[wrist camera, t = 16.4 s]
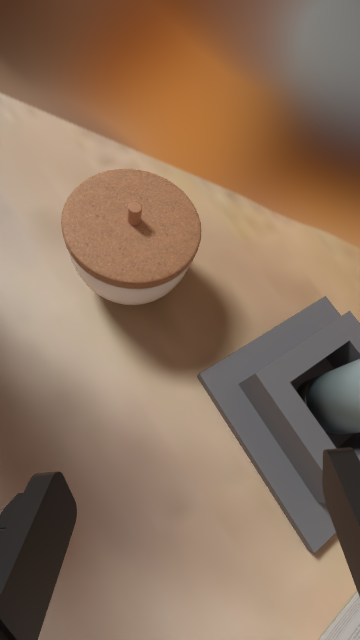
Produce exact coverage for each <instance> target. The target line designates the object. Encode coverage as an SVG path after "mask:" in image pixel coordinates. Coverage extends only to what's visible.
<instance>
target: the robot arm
mask: <svg viewBox="0 0 360 640" xmlns="http://www.w3.org/2000/svg"><path fill="white" fill-rule="evenodd" d="M322 486H323V493H324V498H325V502H326V505H327V508H328V511H329V514H330V517H331V520H332V522H333V525H334V528H335V531H336V533H337V536H338V539H339V542H340V544H341V547H342V550H343V552H344V555H345V558H346V561H347V563H348V566H349V569H350V572H351V574H352V577H353V580H354V583H355V585H356V588H357V591H358V594H359V596H360V460H359V459H358V457H357V455H356V453H355V451H354V450H353V449H352V448H351V447H348V448H337V449H325V450H324V451H323V474H322ZM76 516H77V507H76V502H75V500H74V498H73V496H72V493H71V491H70V489H69V487H68V485H67V483H66V481H65V478H64V476H63V474H62V473H61V472H48V473H37V474H35V475H34V476H33V477H32V478H31V480H30V481H29V483H28V485H27V487H26V489H25V491H24V493H19V494H17V495H16V496H15V497H14V498H13V500H12V501H11V502H10V503H9V504H8V505H7V506H6V507H5V508H4V510H3V511H2V513H1V515H0V640H38V637H39V634H40V631H41V628H42V624H43V621H44V618H45V615H46V612H47V609H48V606H49V603H50V600H51V597H52V594H53V590H54V587H55V584H56V581H57V578H58V575H59V572H60V569H61V566H62V563H63V560H64V556H65V553H66V550H67V547H68V544H69V541H70V538H71V535H72V532H73V529H74V526H75V522H76Z"/></svg>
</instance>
